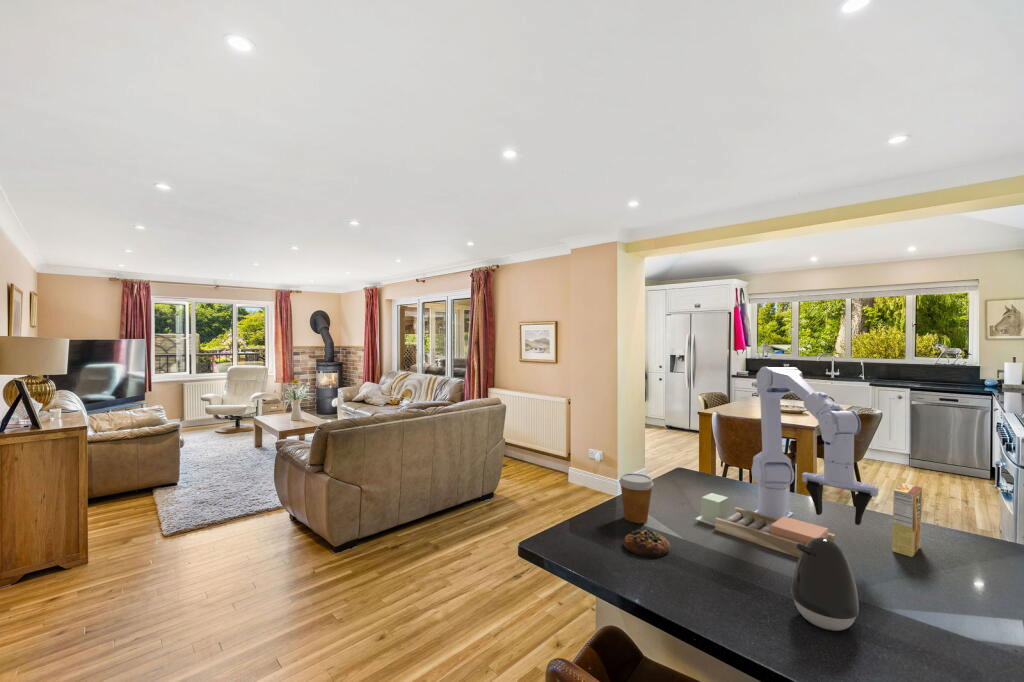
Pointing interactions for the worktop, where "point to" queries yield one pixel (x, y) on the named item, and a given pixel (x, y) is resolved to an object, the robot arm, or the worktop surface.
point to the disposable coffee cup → (636, 496)
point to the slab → (798, 530)
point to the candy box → (907, 519)
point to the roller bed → (756, 530)
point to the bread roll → (646, 543)
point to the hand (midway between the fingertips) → (838, 518)
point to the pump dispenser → (825, 585)
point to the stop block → (714, 507)
